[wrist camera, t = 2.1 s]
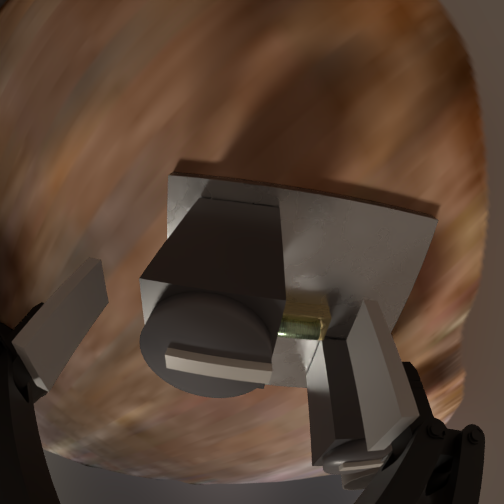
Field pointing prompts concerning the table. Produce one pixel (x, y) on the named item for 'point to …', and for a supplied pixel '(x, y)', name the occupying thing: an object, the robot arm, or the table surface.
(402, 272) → the base plate
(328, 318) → the bubble vial
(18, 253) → the table surface
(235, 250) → the knob
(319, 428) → the knob
